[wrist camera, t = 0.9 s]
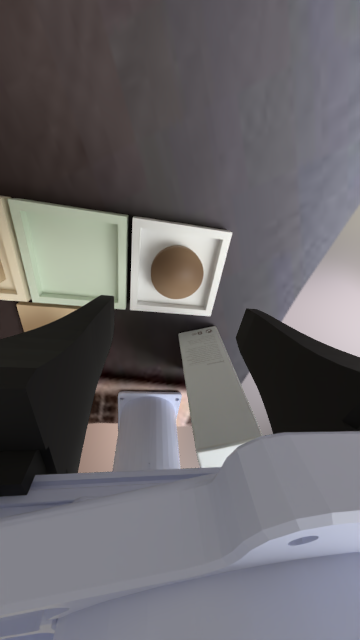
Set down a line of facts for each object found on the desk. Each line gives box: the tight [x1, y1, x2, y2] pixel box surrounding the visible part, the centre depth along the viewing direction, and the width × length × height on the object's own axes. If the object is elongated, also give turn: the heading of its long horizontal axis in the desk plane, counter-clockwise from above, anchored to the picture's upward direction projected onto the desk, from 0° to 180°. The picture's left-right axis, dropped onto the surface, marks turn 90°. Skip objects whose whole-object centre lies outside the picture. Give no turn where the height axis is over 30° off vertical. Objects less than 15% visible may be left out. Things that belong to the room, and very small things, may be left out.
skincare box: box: [178, 326, 263, 468], centre depth 19 cm, size 6×4×12 cm
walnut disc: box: [151, 245, 204, 299], centre depth 18 cm, size 4×4×1 cm
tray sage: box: [8, 198, 129, 310], centre depth 17 cm, size 8×8×1 cm
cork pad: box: [16, 301, 82, 332], centre depth 21 cm, size 7×7×1 cm
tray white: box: [130, 216, 232, 316], centre depth 18 cm, size 8×8×1 cm
